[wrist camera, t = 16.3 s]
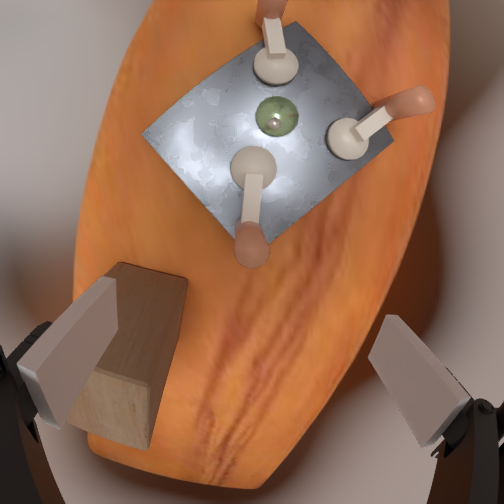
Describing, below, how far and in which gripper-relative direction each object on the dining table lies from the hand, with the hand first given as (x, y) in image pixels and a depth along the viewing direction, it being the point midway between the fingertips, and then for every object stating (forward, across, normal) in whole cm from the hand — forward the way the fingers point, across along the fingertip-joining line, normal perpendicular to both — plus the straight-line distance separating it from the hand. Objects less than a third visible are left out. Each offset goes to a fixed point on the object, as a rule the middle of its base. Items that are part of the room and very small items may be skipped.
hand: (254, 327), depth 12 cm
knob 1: (+21, 0, +4) cm, 21 cm away
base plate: (+22, +2, +12) cm, 26 cm away
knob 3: (+21, +12, +15) cm, 28 cm away
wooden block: (+23, -11, -13) cm, 28 cm away
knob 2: (+21, -1, +23) cm, 31 cm away
